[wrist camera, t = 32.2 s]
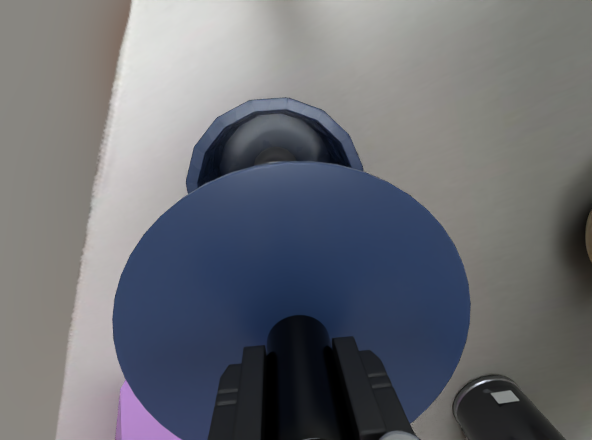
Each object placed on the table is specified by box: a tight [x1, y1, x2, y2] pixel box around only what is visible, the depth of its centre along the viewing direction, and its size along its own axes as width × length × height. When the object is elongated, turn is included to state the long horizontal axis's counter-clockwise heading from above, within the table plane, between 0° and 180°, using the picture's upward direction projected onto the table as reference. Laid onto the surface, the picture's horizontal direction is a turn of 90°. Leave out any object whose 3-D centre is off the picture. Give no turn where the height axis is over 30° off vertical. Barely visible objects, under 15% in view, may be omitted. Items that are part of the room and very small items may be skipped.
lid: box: [112, 161, 471, 440], centre depth 10 cm, size 14×14×6 cm
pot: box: [186, 97, 363, 194], centre depth 27 cm, size 13×13×10 cm
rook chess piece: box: [254, 147, 296, 166], centre depth 28 cm, size 4×4×8 cm
